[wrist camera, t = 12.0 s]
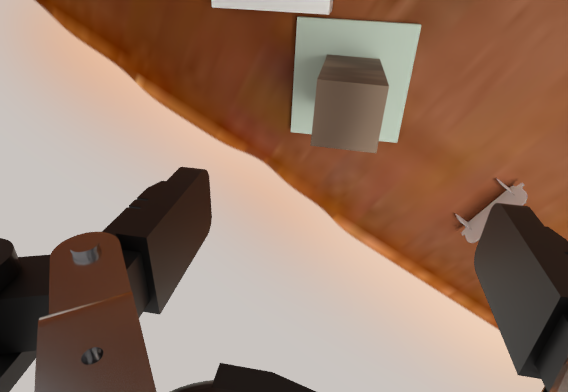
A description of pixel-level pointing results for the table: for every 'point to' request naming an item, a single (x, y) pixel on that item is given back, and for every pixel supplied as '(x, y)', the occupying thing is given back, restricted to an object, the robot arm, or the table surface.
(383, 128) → the green mat
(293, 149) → the table surface
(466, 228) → the grey eared piece
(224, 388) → the robot arm
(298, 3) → the pocket holder
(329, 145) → the walnut block
